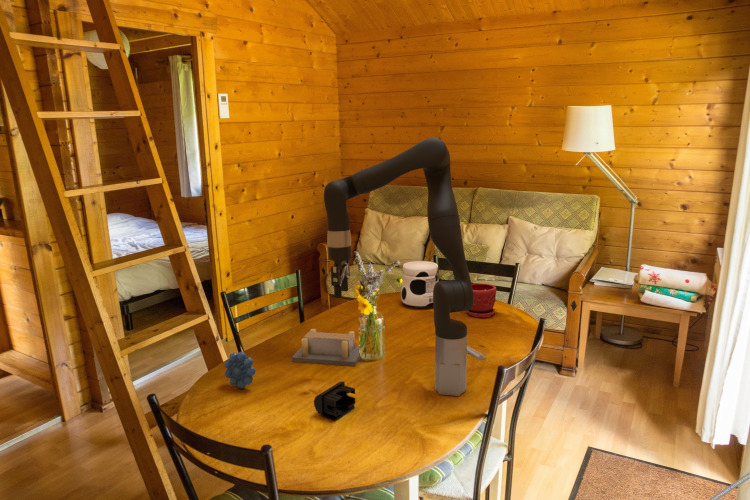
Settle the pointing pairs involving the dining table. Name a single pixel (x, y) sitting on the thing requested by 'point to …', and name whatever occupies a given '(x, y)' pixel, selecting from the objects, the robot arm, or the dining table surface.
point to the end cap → (335, 401)
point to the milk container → (419, 283)
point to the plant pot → (483, 300)
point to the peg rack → (328, 359)
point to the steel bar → (328, 343)
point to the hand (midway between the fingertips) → (341, 294)
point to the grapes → (239, 369)
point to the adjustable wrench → (475, 353)
